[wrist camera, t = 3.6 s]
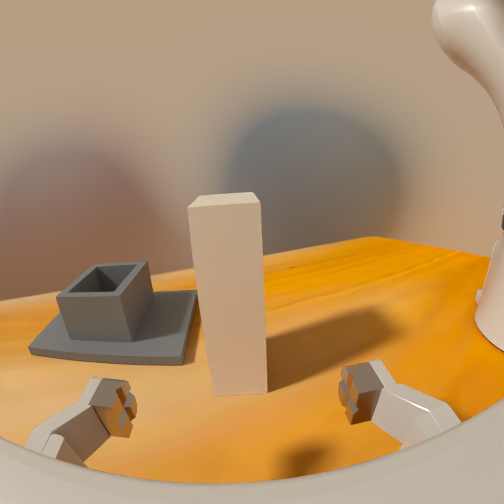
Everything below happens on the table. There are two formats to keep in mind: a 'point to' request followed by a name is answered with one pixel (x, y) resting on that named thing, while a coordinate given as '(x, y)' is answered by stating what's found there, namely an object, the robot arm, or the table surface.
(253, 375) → the tall cream pillar block
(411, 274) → the table surface
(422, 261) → the table surface
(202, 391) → the table surface
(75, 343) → the socket holder
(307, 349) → the table surface
